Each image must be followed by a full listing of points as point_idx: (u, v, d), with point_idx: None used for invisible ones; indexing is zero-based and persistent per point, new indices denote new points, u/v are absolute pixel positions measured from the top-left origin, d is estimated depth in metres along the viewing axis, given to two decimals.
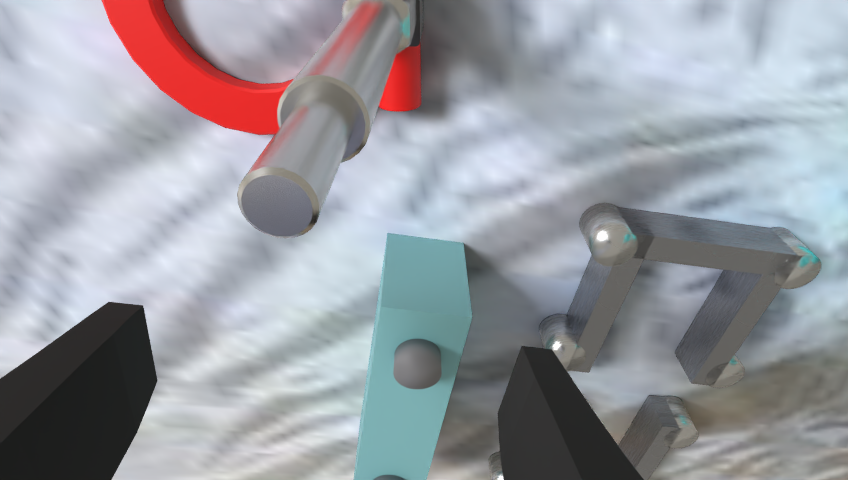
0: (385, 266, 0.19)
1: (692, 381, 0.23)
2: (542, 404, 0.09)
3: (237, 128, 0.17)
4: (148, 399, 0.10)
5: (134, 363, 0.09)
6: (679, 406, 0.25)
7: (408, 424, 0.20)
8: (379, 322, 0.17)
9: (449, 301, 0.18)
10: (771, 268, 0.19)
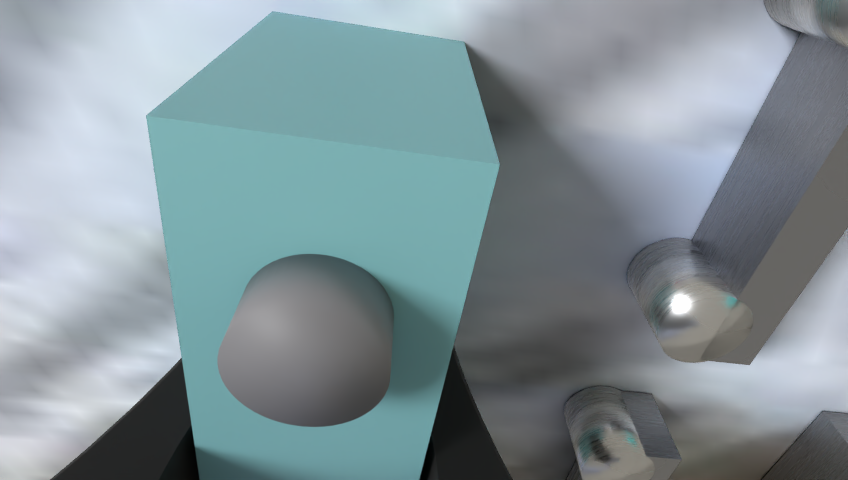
0: (229, 50, 0.06)
1: None
2: None
3: None
4: None
5: None
6: None
7: None
8: (161, 188, 0.05)
9: (419, 124, 0.05)
10: None
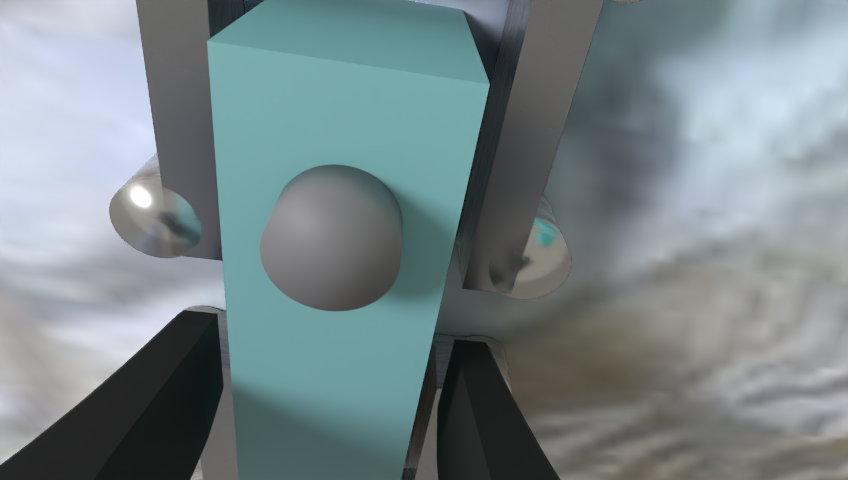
0: (262, 4, 0.07)
1: (463, 283, 0.10)
2: (465, 396, 0.09)
3: None
4: (217, 405, 0.10)
5: (209, 370, 0.09)
6: None
7: (337, 412, 0.09)
8: (215, 104, 0.06)
9: (424, 58, 0.06)
10: None
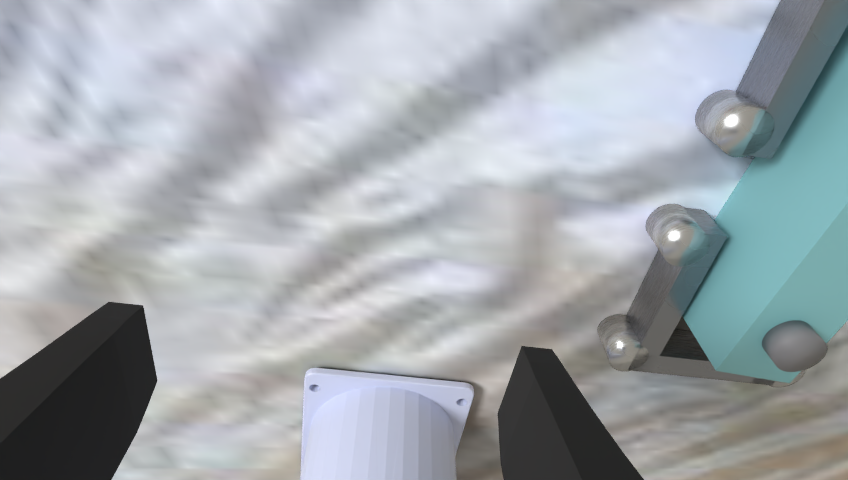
0: None
1: None
2: (541, 404, 0.09)
3: None
4: (148, 399, 0.10)
5: (134, 363, 0.09)
6: None
7: None
8: None
9: None
10: None
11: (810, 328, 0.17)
